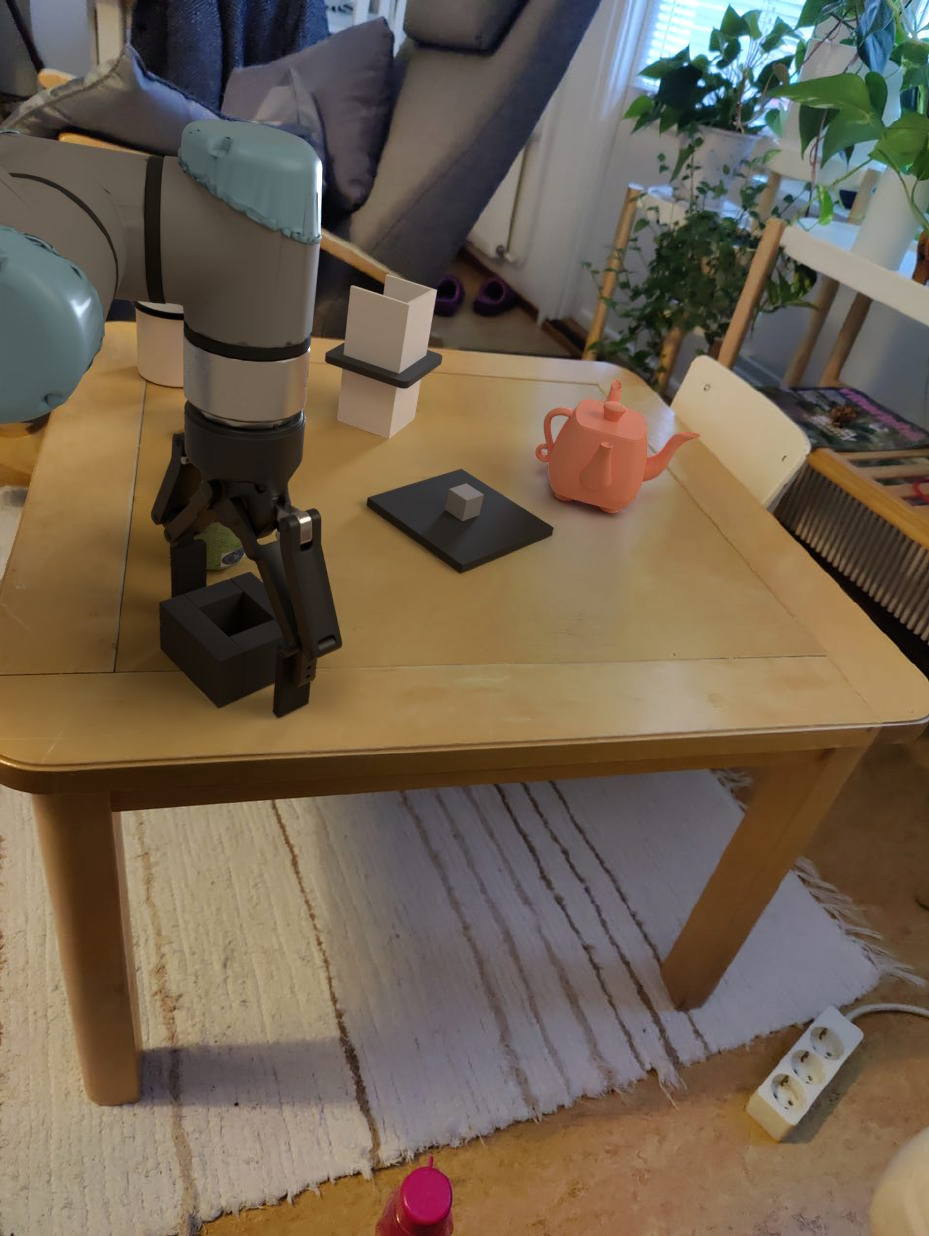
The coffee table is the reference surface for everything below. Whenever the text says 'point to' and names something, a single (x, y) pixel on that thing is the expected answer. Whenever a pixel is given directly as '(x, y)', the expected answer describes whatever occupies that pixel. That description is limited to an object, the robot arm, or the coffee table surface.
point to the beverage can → (221, 546)
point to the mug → (160, 342)
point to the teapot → (603, 452)
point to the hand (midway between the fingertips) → (237, 658)
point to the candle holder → (384, 355)
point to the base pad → (460, 519)
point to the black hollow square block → (223, 637)
